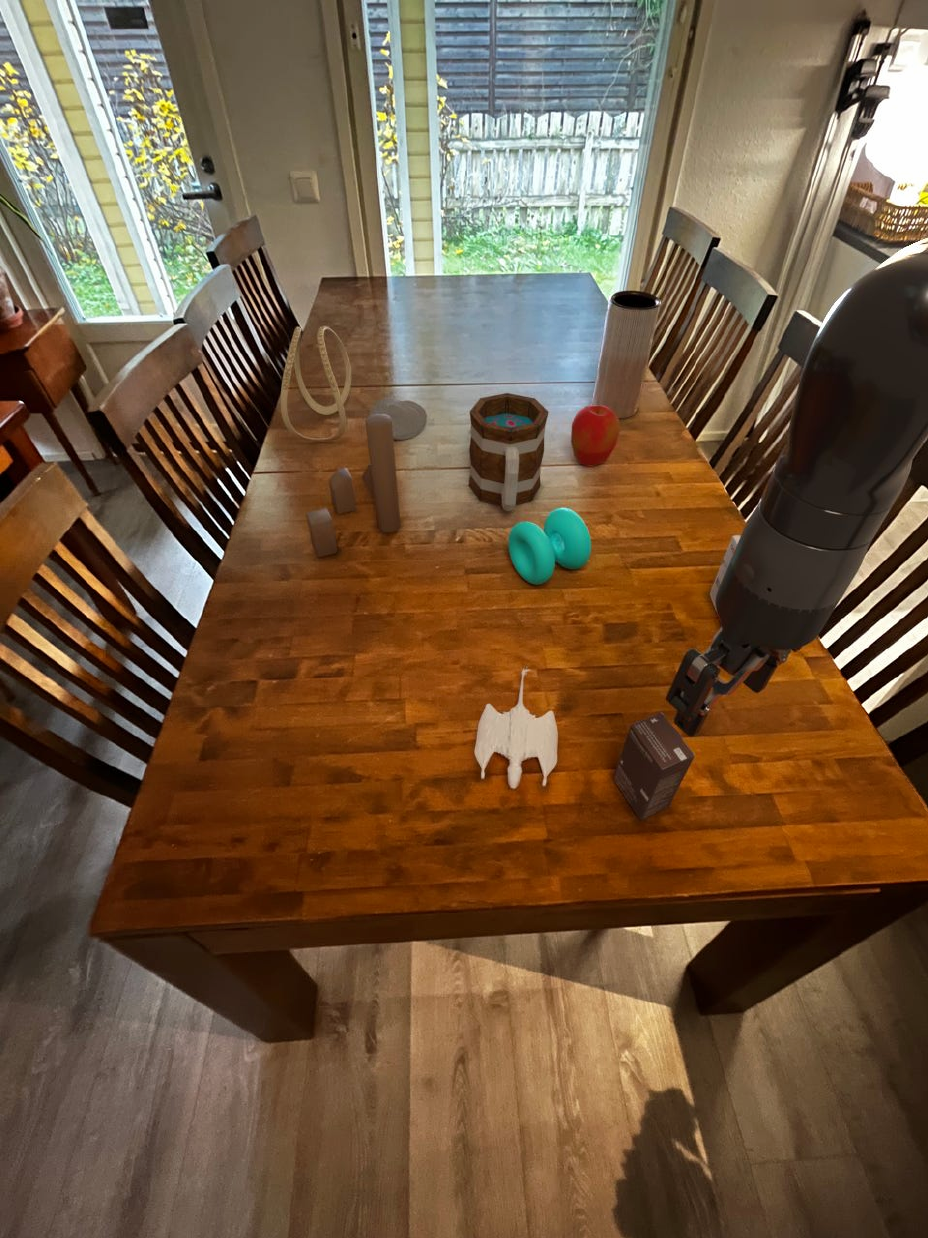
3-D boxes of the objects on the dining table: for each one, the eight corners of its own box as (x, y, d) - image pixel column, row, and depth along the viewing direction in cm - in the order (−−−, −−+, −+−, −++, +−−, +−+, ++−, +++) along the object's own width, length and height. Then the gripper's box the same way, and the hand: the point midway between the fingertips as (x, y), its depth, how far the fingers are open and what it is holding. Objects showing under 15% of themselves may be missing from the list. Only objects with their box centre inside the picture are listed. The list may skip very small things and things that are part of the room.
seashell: (377, 414, 136) (361, 431, 128) (380, 389, 132) (364, 404, 124) (428, 429, 135) (415, 447, 127) (432, 404, 132) (419, 420, 124)
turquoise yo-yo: (589, 577, 100) (600, 527, 93) (538, 599, 96) (545, 549, 89) (552, 542, 106) (559, 493, 99) (503, 562, 102) (506, 512, 95)
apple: (590, 480, 119) (600, 422, 110) (556, 460, 124) (564, 403, 115) (622, 463, 123) (635, 406, 114) (589, 444, 128) (598, 388, 119)
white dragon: (484, 676, 86) (485, 657, 83) (559, 684, 85) (563, 665, 82) (468, 796, 73) (468, 778, 70) (555, 806, 72) (559, 789, 69)
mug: (468, 465, 122) (469, 392, 111) (537, 466, 122) (544, 392, 111) (469, 528, 108) (470, 452, 98) (547, 528, 108) (556, 452, 98)
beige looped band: (350, 453, 125) (336, 353, 110) (290, 456, 124) (268, 355, 110) (355, 402, 140) (343, 307, 125) (301, 403, 139) (283, 309, 124)
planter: (584, 399, 141) (601, 291, 125) (625, 395, 143) (647, 288, 126) (601, 421, 134) (621, 310, 118) (644, 416, 136) (670, 306, 120)
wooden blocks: (379, 474, 120) (368, 372, 105) (414, 533, 107) (408, 427, 93) (291, 494, 115) (267, 390, 101) (317, 558, 103) (294, 450, 88)
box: (609, 780, 75) (628, 722, 66) (640, 767, 76) (664, 709, 67) (637, 824, 71) (662, 769, 62) (670, 810, 72) (699, 754, 64)
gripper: (767, 644, 39) (695, 777, 50) (898, 561, 44) (805, 699, 56) (677, 575, 43) (629, 713, 55) (806, 508, 49) (738, 646, 60)
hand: (718, 706), depth 55 cm, fingers open, 8 cm apart
